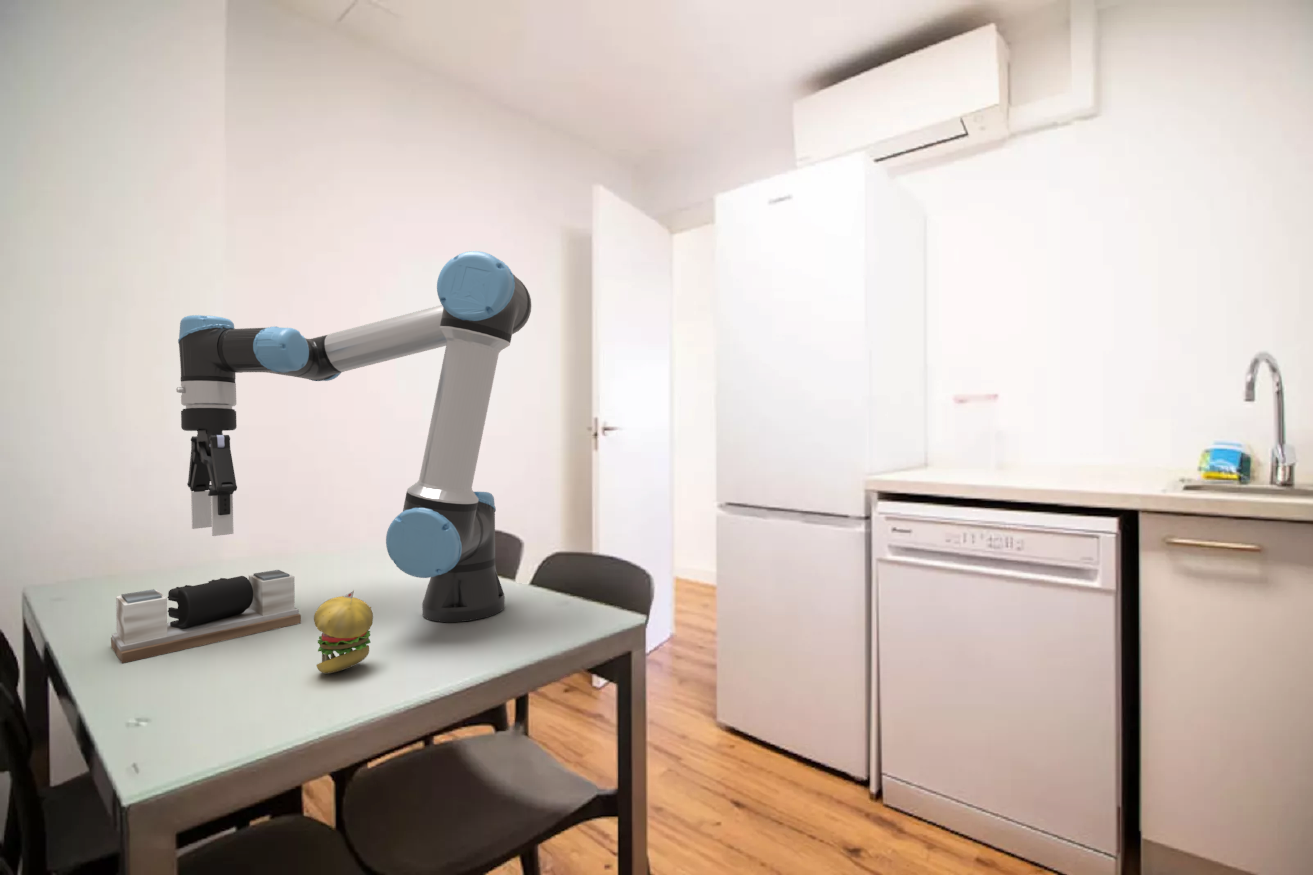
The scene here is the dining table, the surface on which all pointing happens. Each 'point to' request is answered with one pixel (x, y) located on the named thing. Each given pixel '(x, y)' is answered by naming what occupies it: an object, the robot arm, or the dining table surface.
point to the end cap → (210, 601)
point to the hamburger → (343, 632)
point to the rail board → (152, 635)
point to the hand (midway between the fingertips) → (211, 531)
